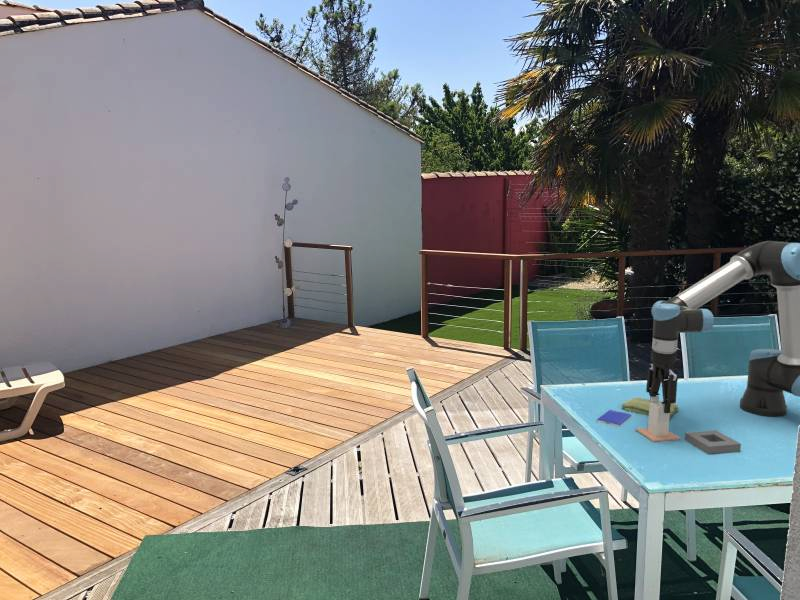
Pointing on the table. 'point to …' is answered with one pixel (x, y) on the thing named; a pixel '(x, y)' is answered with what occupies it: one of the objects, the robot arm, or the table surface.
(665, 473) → the table surface
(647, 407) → the washcloth
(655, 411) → the plug
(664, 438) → the pad
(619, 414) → the hard drive
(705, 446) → the gray square ring
